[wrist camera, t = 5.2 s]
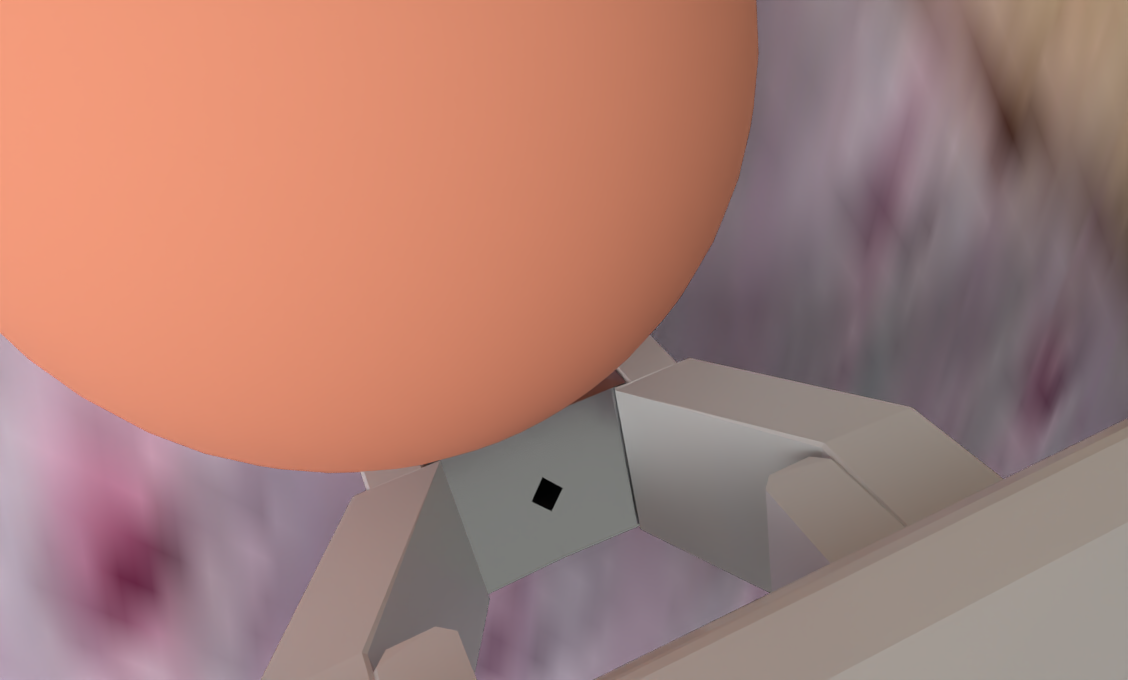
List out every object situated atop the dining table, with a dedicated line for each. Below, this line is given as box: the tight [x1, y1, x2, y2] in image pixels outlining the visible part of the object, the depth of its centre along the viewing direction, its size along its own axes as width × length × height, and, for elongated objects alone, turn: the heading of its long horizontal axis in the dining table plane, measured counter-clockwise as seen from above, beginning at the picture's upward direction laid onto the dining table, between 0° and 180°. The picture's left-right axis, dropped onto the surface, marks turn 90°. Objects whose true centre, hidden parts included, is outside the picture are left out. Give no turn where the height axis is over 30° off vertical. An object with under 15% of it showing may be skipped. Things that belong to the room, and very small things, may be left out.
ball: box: [0, 0, 758, 473], centre depth 6 cm, size 6×6×6 cm
